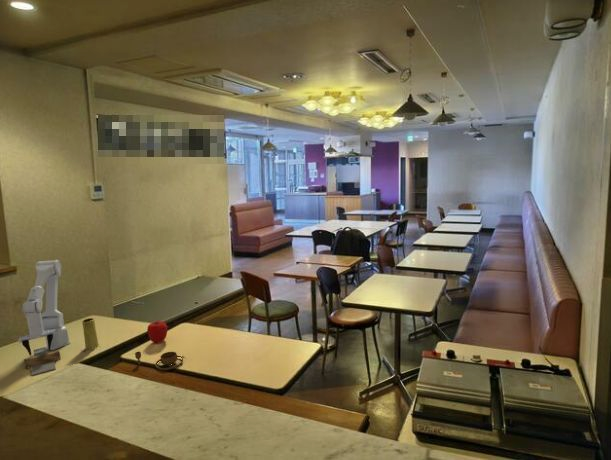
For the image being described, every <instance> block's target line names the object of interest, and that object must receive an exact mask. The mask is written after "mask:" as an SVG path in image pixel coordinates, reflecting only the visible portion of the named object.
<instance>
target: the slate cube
mask: <svg viewBox="0 0 611 460" xmlns="http://www.w3.org/2000/svg"><path fill="white" fill-rule="evenodd" d="M43 347H44V346H43ZM43 347H40V348H37V349H33V357H35V356H39V355H43V354H47V353H48V349H46V347H44V348H43Z"/></svg>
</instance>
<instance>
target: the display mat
mask: <svg viewBox="0 0 611 460" xmlns="http://www.w3.org/2000/svg"><path fill="white" fill-rule="evenodd" d="M56 369H57V368H56V361H52V362H48V363H44V364H40V365H37V366H33V367H31V376H32V377H33V376H37V375H40V374H45V373H48V372H52V371H55V370H56Z"/></svg>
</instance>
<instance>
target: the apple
mask: <svg viewBox="0 0 611 460" xmlns="http://www.w3.org/2000/svg"><path fill="white" fill-rule="evenodd" d="M147 334H148V337H149V339H150V342H152V343H154V344H160V343H162V342H163V341H164V340H165V339H166V337H167V334H168V325H167V323H165V322H164V321H161V320H160V321H159V320H158V321H153V322H151V323H149V325H148V326H147Z"/></svg>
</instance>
